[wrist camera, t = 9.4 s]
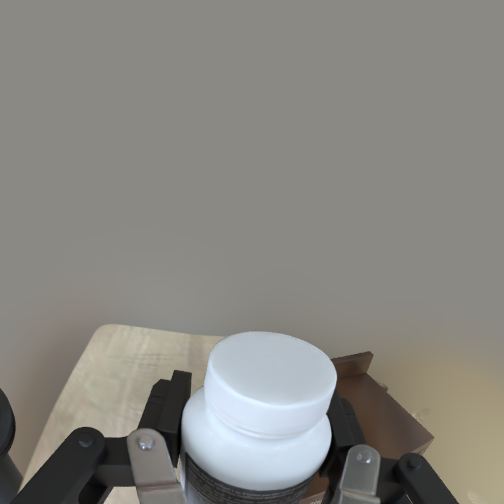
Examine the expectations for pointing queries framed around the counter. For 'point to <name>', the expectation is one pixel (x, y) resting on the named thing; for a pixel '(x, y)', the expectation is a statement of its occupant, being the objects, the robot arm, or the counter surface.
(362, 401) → the spice shelf
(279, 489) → the pill bottle
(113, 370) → the counter surface
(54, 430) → the counter surface
